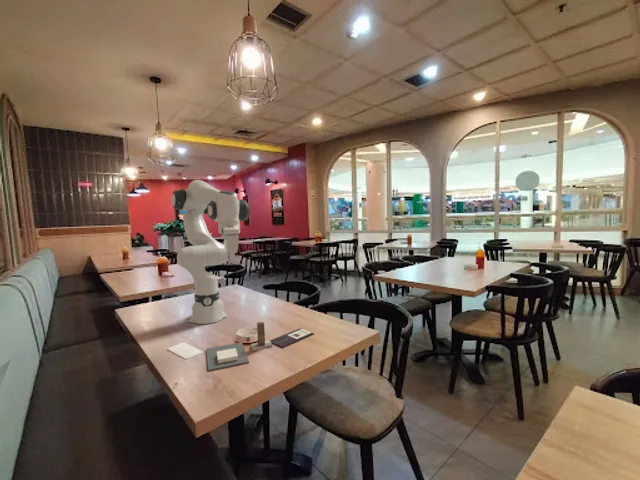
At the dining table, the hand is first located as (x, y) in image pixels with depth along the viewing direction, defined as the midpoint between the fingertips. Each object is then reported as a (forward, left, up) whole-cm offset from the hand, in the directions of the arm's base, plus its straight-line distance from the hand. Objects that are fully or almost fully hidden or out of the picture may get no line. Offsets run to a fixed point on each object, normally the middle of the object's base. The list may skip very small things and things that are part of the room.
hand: (231, 261), depth 130 cm
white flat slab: (+4, -20, -35) cm, 40 cm away
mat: (+16, -5, -34) cm, 38 cm away
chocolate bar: (+11, +23, -35) cm, 43 cm away
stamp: (+14, +9, -34) cm, 38 cm away
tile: (+19, -5, -33) cm, 38 cm away
